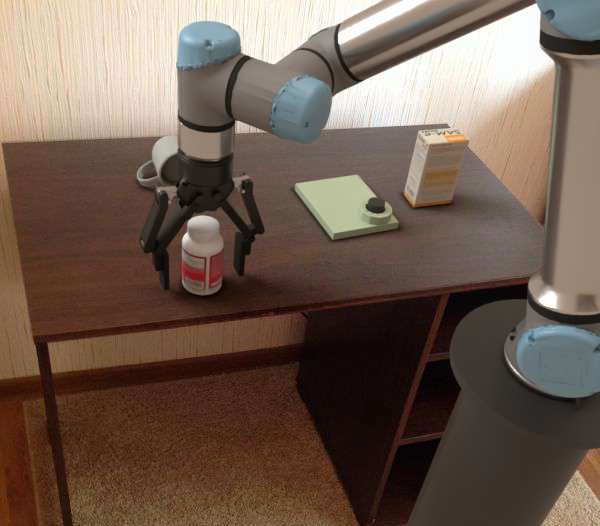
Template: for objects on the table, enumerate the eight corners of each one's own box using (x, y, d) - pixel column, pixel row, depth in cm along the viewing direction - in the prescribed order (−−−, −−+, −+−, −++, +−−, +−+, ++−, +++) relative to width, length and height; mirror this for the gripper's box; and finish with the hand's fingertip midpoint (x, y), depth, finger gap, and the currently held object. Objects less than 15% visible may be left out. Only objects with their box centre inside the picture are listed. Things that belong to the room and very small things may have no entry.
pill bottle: (217, 270, 120) (219, 210, 112) (225, 294, 116) (229, 235, 108) (178, 273, 118) (178, 213, 110) (186, 298, 114) (186, 238, 106)
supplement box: (440, 190, 145) (458, 126, 135) (451, 204, 142) (471, 139, 132) (401, 194, 142) (417, 129, 133) (412, 208, 139) (430, 143, 130)
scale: (397, 228, 134) (400, 214, 132) (332, 240, 129) (335, 225, 127) (356, 181, 143) (358, 166, 141) (294, 190, 139) (296, 175, 136)
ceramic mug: (189, 166, 140) (188, 127, 134) (202, 190, 135) (202, 150, 129) (132, 172, 136) (129, 133, 131) (143, 197, 132) (141, 157, 126)
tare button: (386, 212, 132) (388, 205, 131) (371, 215, 131) (373, 207, 130) (378, 203, 134) (380, 196, 133) (363, 206, 133) (365, 198, 132)
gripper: (275, 125, 107) (263, 251, 123) (109, 144, 98) (119, 276, 114) (297, 152, 103) (281, 279, 118) (126, 174, 94) (133, 307, 110)
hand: (202, 277), depth 116 cm, fingers open, 11 cm apart
